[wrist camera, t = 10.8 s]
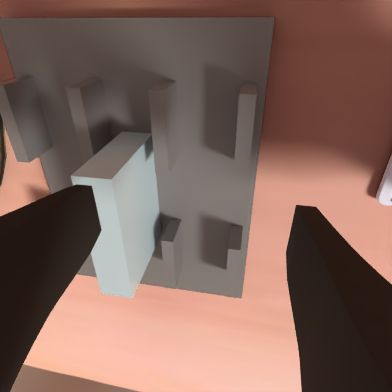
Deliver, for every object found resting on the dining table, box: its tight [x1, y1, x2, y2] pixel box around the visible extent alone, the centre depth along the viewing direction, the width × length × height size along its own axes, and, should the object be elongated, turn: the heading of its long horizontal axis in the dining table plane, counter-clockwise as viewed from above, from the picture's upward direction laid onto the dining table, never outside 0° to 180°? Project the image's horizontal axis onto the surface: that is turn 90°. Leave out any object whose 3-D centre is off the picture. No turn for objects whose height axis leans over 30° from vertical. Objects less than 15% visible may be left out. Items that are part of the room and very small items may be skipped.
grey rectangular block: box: [71, 132, 161, 298], centre depth 18 cm, size 2×8×6 cm, turn 0°
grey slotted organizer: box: [0, 17, 275, 298], centre depth 20 cm, size 15×20×4 cm
